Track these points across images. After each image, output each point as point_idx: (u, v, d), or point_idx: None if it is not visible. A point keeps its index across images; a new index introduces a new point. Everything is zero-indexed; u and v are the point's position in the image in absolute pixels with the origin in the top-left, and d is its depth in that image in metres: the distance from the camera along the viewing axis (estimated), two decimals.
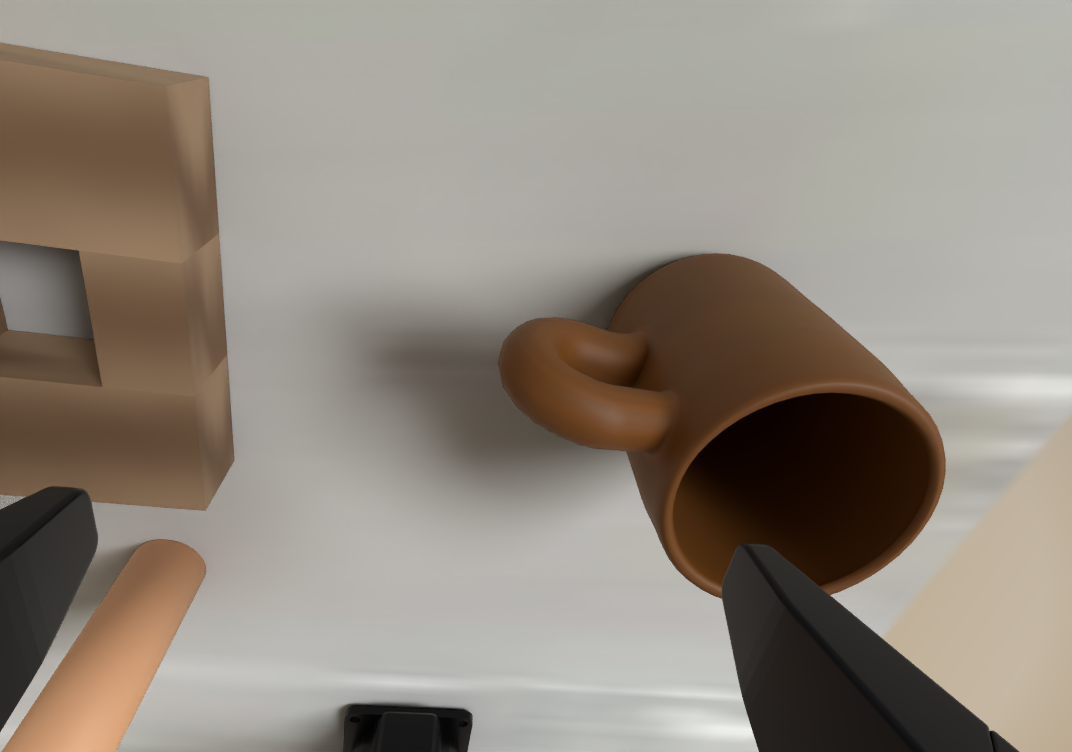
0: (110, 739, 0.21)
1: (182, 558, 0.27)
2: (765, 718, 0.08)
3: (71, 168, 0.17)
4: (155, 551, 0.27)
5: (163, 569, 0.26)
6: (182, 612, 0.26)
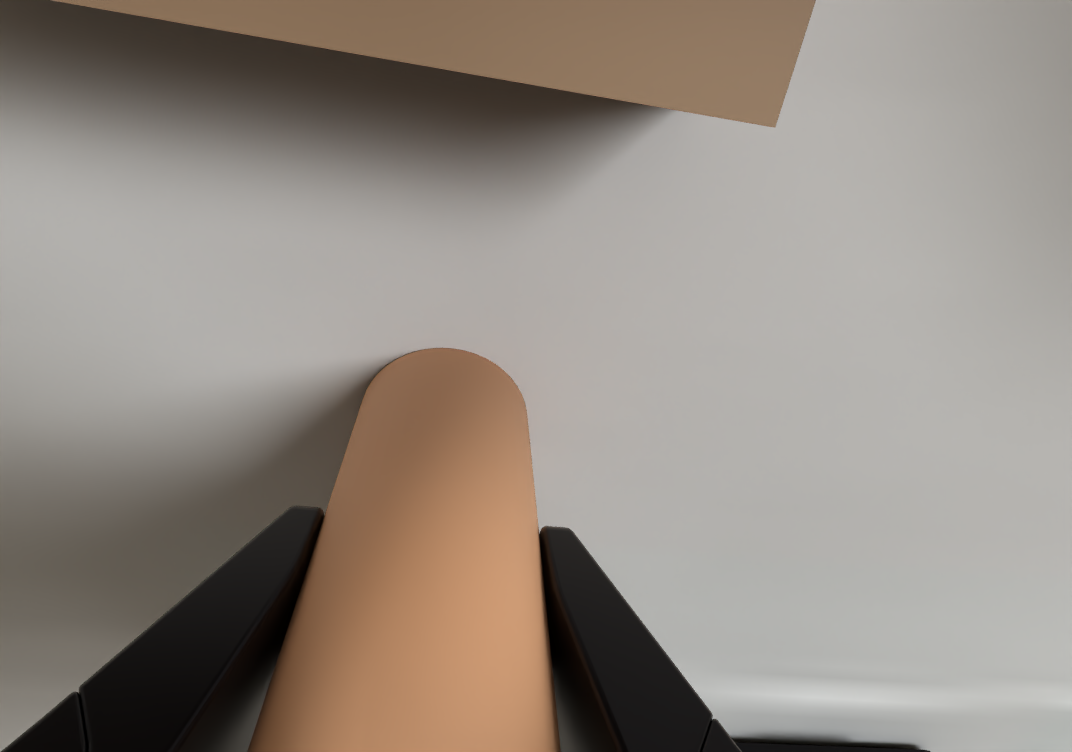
0: None
1: (504, 390, 0.11)
2: None
3: None
4: (443, 367, 0.10)
5: (482, 403, 0.10)
6: None
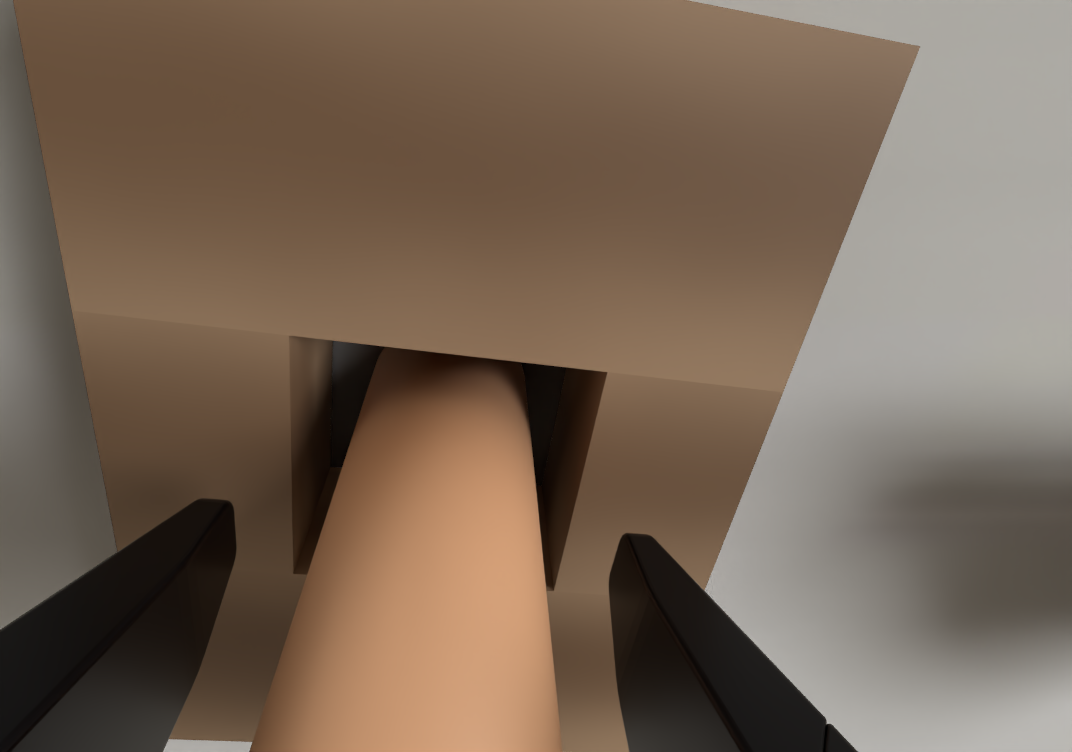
0: None
1: None
2: (633, 712, 0.08)
3: (658, 219, 0.08)
4: None
5: (485, 364, 0.11)
6: None
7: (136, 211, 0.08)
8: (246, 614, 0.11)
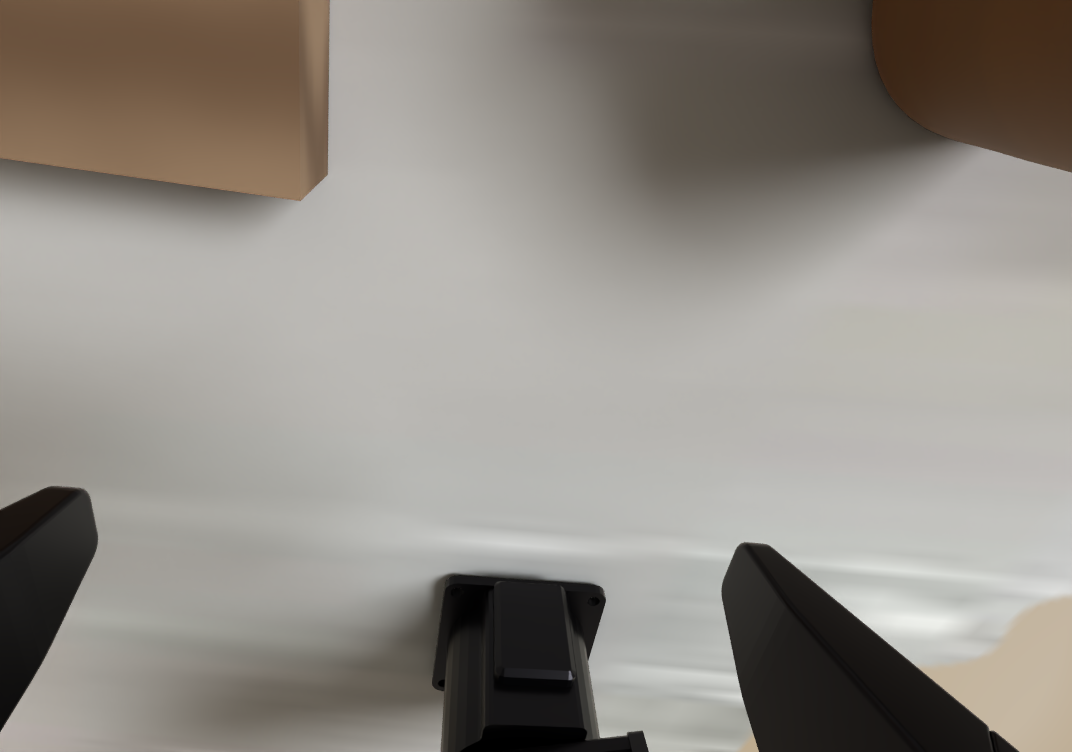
0: None
1: None
2: (765, 718, 0.08)
3: None
4: None
5: None
6: None
7: None
8: None
